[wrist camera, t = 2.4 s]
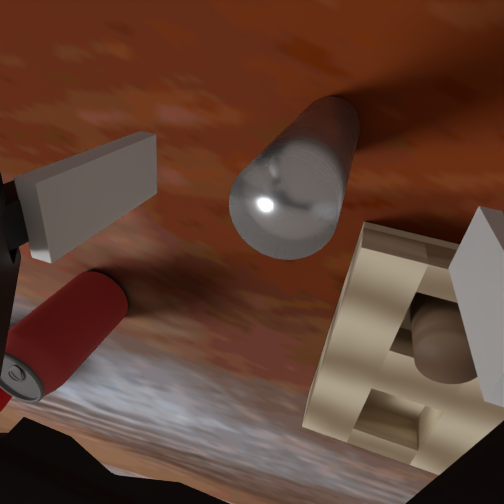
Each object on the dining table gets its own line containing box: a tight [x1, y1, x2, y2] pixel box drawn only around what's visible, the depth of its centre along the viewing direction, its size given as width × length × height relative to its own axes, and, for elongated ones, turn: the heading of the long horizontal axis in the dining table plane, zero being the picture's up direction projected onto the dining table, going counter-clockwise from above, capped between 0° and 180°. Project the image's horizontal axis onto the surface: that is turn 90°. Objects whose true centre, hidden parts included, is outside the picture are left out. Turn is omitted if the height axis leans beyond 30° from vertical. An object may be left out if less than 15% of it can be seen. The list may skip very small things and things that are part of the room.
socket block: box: [302, 222, 504, 475], centre depth 29 cm, size 20×14×6 cm
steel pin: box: [229, 96, 360, 260], centre depth 19 cm, size 4×4×14 cm
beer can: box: [0, 271, 128, 403], centre depth 35 cm, size 7×7×12 cm
